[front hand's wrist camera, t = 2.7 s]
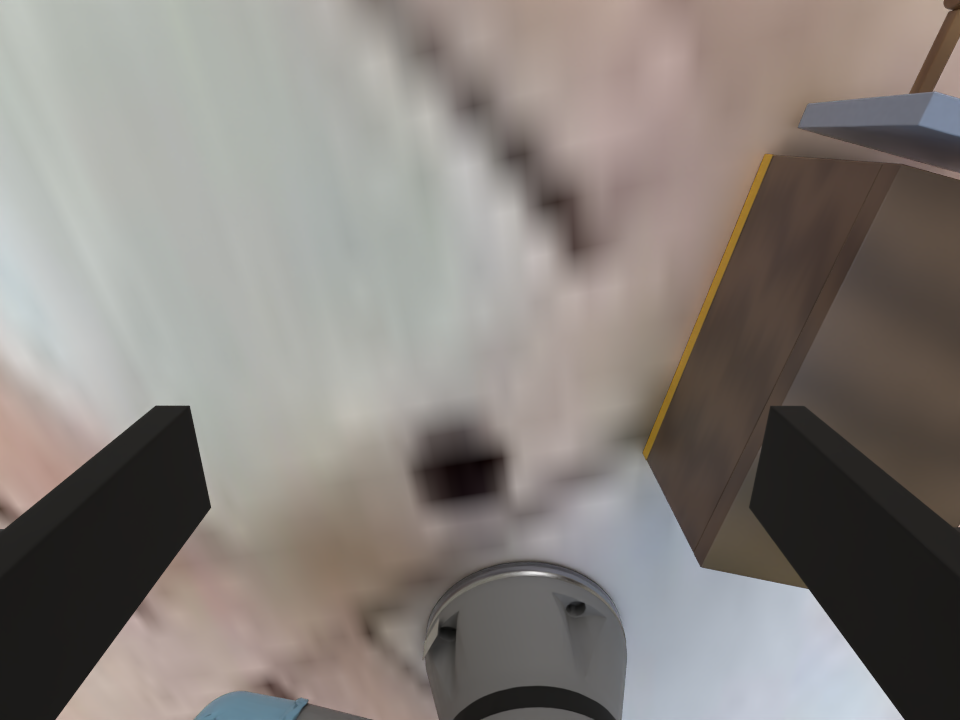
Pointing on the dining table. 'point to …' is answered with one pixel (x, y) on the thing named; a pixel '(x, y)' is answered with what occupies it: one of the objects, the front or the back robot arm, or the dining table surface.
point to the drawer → (902, 112)
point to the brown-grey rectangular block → (819, 347)
